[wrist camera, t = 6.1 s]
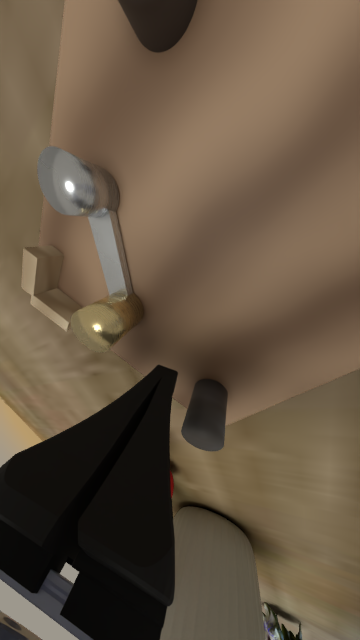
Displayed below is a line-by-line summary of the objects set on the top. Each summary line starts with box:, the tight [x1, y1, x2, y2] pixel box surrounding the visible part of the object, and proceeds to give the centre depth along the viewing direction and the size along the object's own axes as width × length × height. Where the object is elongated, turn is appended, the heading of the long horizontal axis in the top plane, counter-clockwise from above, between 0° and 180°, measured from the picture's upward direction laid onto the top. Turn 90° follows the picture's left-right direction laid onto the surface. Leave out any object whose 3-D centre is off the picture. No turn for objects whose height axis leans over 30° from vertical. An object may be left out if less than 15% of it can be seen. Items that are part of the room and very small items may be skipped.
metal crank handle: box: [38, 146, 144, 352], centre depth 9 cm, size 9×3×3 cm, turn 5°
